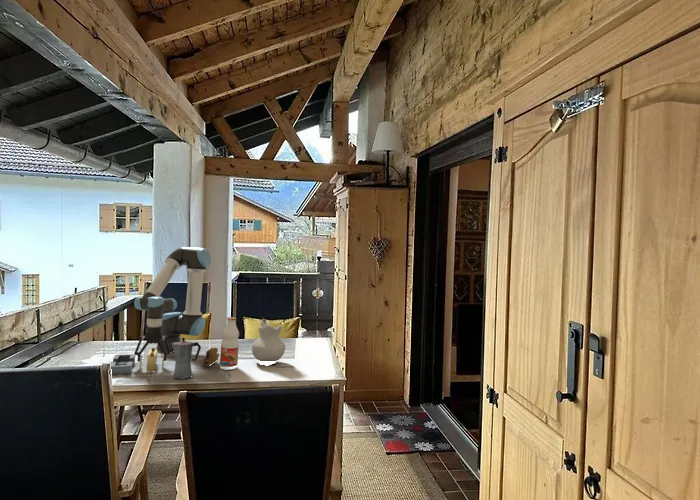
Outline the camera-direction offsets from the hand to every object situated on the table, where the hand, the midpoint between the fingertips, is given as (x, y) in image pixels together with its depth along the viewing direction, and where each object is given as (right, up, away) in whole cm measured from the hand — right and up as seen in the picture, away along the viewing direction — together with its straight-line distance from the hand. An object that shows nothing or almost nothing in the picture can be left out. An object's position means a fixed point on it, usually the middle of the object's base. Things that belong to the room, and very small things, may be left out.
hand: (151, 367), depth 233 cm
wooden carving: (+28, -2, +11) cm, 30 cm away
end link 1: (-16, +1, +1) cm, 16 cm away
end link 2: (-11, 0, -11) cm, 15 cm away
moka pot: (+22, -2, -12) cm, 25 cm away
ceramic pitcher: (+57, -4, +25) cm, 62 cm away
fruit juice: (+39, -3, +9) cm, 40 cm away
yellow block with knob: (0, 0, 0) cm, 0 cm away
